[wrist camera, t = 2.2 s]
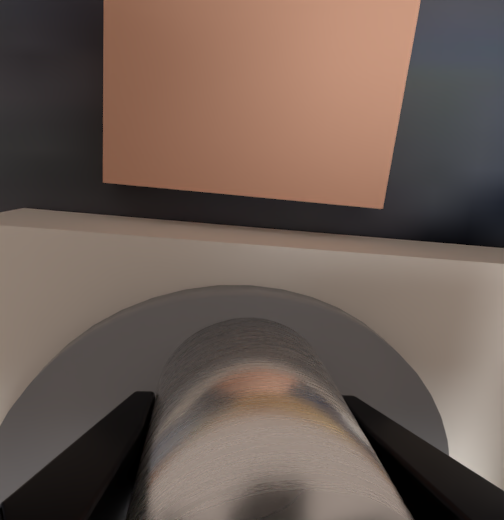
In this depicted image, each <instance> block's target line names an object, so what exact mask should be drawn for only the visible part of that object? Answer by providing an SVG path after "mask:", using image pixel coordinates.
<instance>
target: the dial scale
mask: <svg viewBox="0 0 504 520" xmlns="http://www.w3.org/2000/svg"><path fill="white" fill-rule="evenodd" d="M250 317H253V318H262V319H267V320H271V321H275V322H278V323H280V324H283V325H285V326H287V327H289V328H291V329H293V330H294V331H296V332H297V333H298V334H300V335H301V336H302V337H304V338H305V339H306V340H307V341H308V342H309V343H310V345H311V346H312V347H313V349H314V350H315V351H316V353H317V354H318V356H319V358H320V360H321V361H322V363H323V365H324V366H325V368H326V370H327V371H328V373H329V375H330V377H331V378H332V380H333V382H334V383H335V385H336V387H337V389H338V390H339V392H340V394H341V395H352V396H355V397H357V398H359V399H360V400H362V401H363V402H365V403H367V404H368V405H370V406H371V407H373V408H374V409H376V410H378V411H379V412H381V413H382V414H384V415H385V416H387V417H389V418H390V419H392V420H393V421H395V422H396V423H398V424H400V425H401V426H403V427H404V428H406V429H407V430H409V431H411V432H412V433H414V434H415V435H417V436H418V437H420V438H422V439H423V440H425V441H426V442H428V443H429V444H431V445H433V446H434V447H436V448H437V449H439V450H441V451H442V452H444V453H445V454H447V455H448V456H450V457H452V458H453V459H455V460H456V461H458V462H459V463H461V464H463V465H464V466H466V467H467V468H469V469H470V470H472V471H474V472H475V473H477V474H478V475H480V476H481V477H483V478H485V479H486V480H488V481H489V482H491V483H492V484H494V485H496V486H497V487H499V488H500V489H502V490H503V491H504V248H497V247H485V246H473V245H461V244H449V243H437V242H425V241H413V240H401V239H389V238H377V237H365V236H353V235H341V234H330V233H318V232H306V231H294V230H282V229H270V228H258V227H246V226H234V225H222V224H210V223H198V222H186V221H174V220H162V219H150V218H138V217H126V216H114V215H102V214H90V213H78V212H66V211H54V210H42V209H30V208H21V209H16V210H10V211H5V212H0V504H1V502H2V501H4V500H5V499H6V498H7V497H8V496H10V495H11V494H12V493H13V492H14V491H16V490H17V489H18V488H19V487H20V486H22V485H23V484H24V483H25V482H26V481H28V480H29V479H30V478H31V477H32V476H34V475H35V474H36V473H37V472H38V471H40V470H41V469H42V468H43V467H44V466H46V465H47V464H48V463H49V462H51V461H52V460H53V459H54V458H55V457H57V456H58V455H59V454H60V453H61V452H63V451H64V450H65V449H66V448H67V447H69V446H70V445H71V444H72V443H73V442H75V441H76V440H77V439H78V438H79V437H81V436H82V435H83V434H84V433H85V432H87V431H88V430H89V429H90V428H91V427H93V426H94V425H95V424H96V423H97V422H99V421H100V420H101V419H102V418H103V417H105V416H106V415H107V414H108V413H109V412H111V411H112V410H113V409H114V408H115V407H117V406H118V405H119V404H120V403H122V402H123V401H124V400H125V399H126V398H128V397H129V396H130V395H131V394H132V393H134V392H135V391H152V392H154V393H155V397H156V393H157V389H158V385H159V381H160V378H161V374H162V372H163V370H164V367H165V365H166V363H167V362H168V360H169V359H170V357H171V355H172V354H173V353H174V352H175V350H176V349H177V348H178V347H179V346H180V345H181V344H182V343H183V342H184V341H185V340H186V339H188V338H189V337H190V336H192V335H193V334H194V333H196V332H198V331H199V330H201V329H203V328H205V327H207V326H209V325H212V324H214V323H217V322H220V321H224V320H228V319H234V318H250Z"/></svg>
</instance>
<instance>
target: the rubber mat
mask: <svg viewBox="0 0 504 520" xmlns="http://www.w3.org/2000/svg"><path fill="white" fill-rule="evenodd" d="M420 1H421V0H104V34H103V183H112V184H123V185H133V186H144V187H155V188H165V189H176V190H186V191H197V192H207V193H218V194H228V195H239V196H250V197H260V198H271V199H281V200H292V201H302V202H313V203H324V204H334V205H345V206H355V207H366V208H376V209H383V205H384V200H385V194H386V188H387V183H388V177H389V172H390V166H391V161H392V155H393V150H394V144H395V139H396V133H397V128H398V122H399V117H400V111H401V106H402V100H403V95H404V89H405V84H406V78H407V73H408V67H409V62H410V56H411V51H412V45H413V40H414V34H415V29H416V23H417V18H418V12H419V7H420Z"/></svg>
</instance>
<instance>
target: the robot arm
mask: <svg viewBox="0 0 504 520" xmlns="http://www.w3.org/2000/svg"><path fill="white" fill-rule="evenodd" d="M342 397H343V399H344V400H345V402H346V404H347V406H348V407H349V409H350V411H351V412H352V414H353V416H354V417H355V419H356V421H357V423H358V424H359V426H360V428H361V429H362V431H363V433H364V435H365V436H366V438H367V440H368V441H369V443H370V445H371V446H372V448H373V450H374V452H375V453H376V455H377V457H378V458H379V460H380V462H381V464H382V465H383V467H384V469H385V470H386V472H387V474H388V475H389V477H390V479H391V481H392V482H393V484H394V486H395V487H396V489H397V491H398V492H399V494H400V496H401V498H402V499H403V501H404V503H405V504H406V506H407V508H408V510H409V511H410V513H411V515H412V516H413V518H414V520H504V491H503V490H502V489H500V488H499V487H497V486H496V485H494V484H492V483H491V482H489V481H488V480H486V479H485V478H483V477H481V476H480V475H478V474H477V473H475V472H474V471H472V470H470V469H469V468H467V467H466V466H464V465H463V464H461V463H459V462H458V461H456V460H455V459H453V458H452V457H450V456H448V455H447V454H445V453H444V452H442V451H441V450H439V449H437V448H436V447H434V446H433V445H431V444H429V443H428V442H426V441H425V440H423V439H422V438H420V437H418V436H417V435H415V434H414V433H412V432H411V431H409V430H407V429H406V428H404V427H403V426H401V425H400V424H398V423H396V422H395V421H393V420H392V419H390V418H389V417H387V416H385V415H384V414H382V413H381V412H379V411H378V410H376V409H374V408H373V407H371V406H370V405H368V404H367V403H365V402H363V401H362V400H360V399H359V398H357V397H355V396H352V395H342ZM154 402H155V393H154V392H152V391H135V392H134V393H132V394H131V395H130V396H129V397H128V398H126V399H125V400H124V401H123V402H122V403H120V404H119V405H118V406H117V407H115V408H114V409H113V410H112V411H111V412H109V413H108V414H107V415H106V416H105V417H103V418H102V419H101V420H100V421H99V422H97V423H96V424H95V425H94V426H93V427H91V428H90V429H89V430H88V431H87V432H85V433H84V434H83V435H82V436H81V437H79V438H78V439H77V440H76V441H75V442H73V443H72V444H71V445H70V446H69V447H67V448H66V449H65V450H64V451H63V452H61V453H60V454H59V455H58V456H57V457H55V458H54V459H53V460H52V461H51V462H49V463H48V464H47V465H46V466H44V467H43V468H42V469H41V470H40V471H38V472H37V473H36V474H35V475H34V476H32V477H31V478H30V479H29V480H28V481H26V482H25V483H24V484H23V485H22V486H20V487H19V488H18V489H17V490H16V491H14V492H13V493H12V494H11V495H10V496H8V497H7V498H6V499H5V500H4V501H2V502H1V504H0V520H125V519H126V515H127V511H128V507H129V503H130V499H131V495H132V491H133V487H134V483H135V479H136V475H137V471H138V466H139V462H140V458H141V454H142V450H143V446H144V442H145V438H146V434H147V430H148V426H149V422H150V418H151V414H152V410H153V406H154Z"/></svg>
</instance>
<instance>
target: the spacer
mask: <svg viewBox="0 0 504 520" xmlns="http://www.w3.org/2000/svg"><path fill="white" fill-rule="evenodd" d="M125 520H414V518H413V516H412V515H411V513H410V511H409V510H408V508H407V506H406V504H405V503H404V501H403V499H402V498H401V496H400V494H399V492H398V491H397V489H396V487H395V486H394V484H393V482H392V481H391V479H390V477H389V475H388V474H387V472H386V470H385V469H384V467H383V465H382V464H381V462H380V460H379V458H378V457H377V455H376V453H375V452H374V450H373V448H372V446H371V445H370V443H369V441H368V440H367V438H366V436H365V435H364V433H363V431H362V429H361V428H360V426H359V424H358V423H357V421H356V419H355V417H354V416H353V414H352V412H351V411H350V409H349V407H348V406H347V404H346V402H345V400H344V399H343V397H342V395H341V394H340V392H339V390H338V389H337V387H336V385H335V383H334V382H333V380H332V378H331V377H330V375H329V373H328V371H327V370H326V368H325V366H324V365H323V363H322V361H321V360H320V358H319V356H318V354H317V353H316V351H315V350H314V349H313V347H312V346H311V345H310V343H309V342H308V341H307V340H306V339H305V338H304V337H302V336H301V335H300V334H298V333H297V332H296V331H294V330H293V329H291V328H289V327H287V326H285V325H283V324H280V323H278V322H275V321H271V320H267V319H262V318H253V317H250V318H234V319H228V320H224V321H220V322H217V323H214V324H212V325H209V326H207V327H205V328H203V329H201V330H199V331H198V332H196V333H194V334H193V335H192V336H190V337H189V338H188V339H186V340H185V341H184V342H183V343H182V344H181V345H180V346H179V347H178V348H177V349H176V350H175V352H174V353H173V354H172V355H171V357H170V359H169V360H168V362H167V363H166V365H165V367H164V370H163V372H162V374H161V378H160V381H159V385H158V389H157V393H156V397H155V402H154V406H153V410H152V414H151V418H150V422H149V426H148V430H147V434H146V438H145V442H144V446H143V450H142V454H141V458H140V462H139V466H138V471H137V475H136V479H135V483H134V487H133V491H132V495H131V499H130V503H129V507H128V511H127V515H126V519H125Z"/></svg>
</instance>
